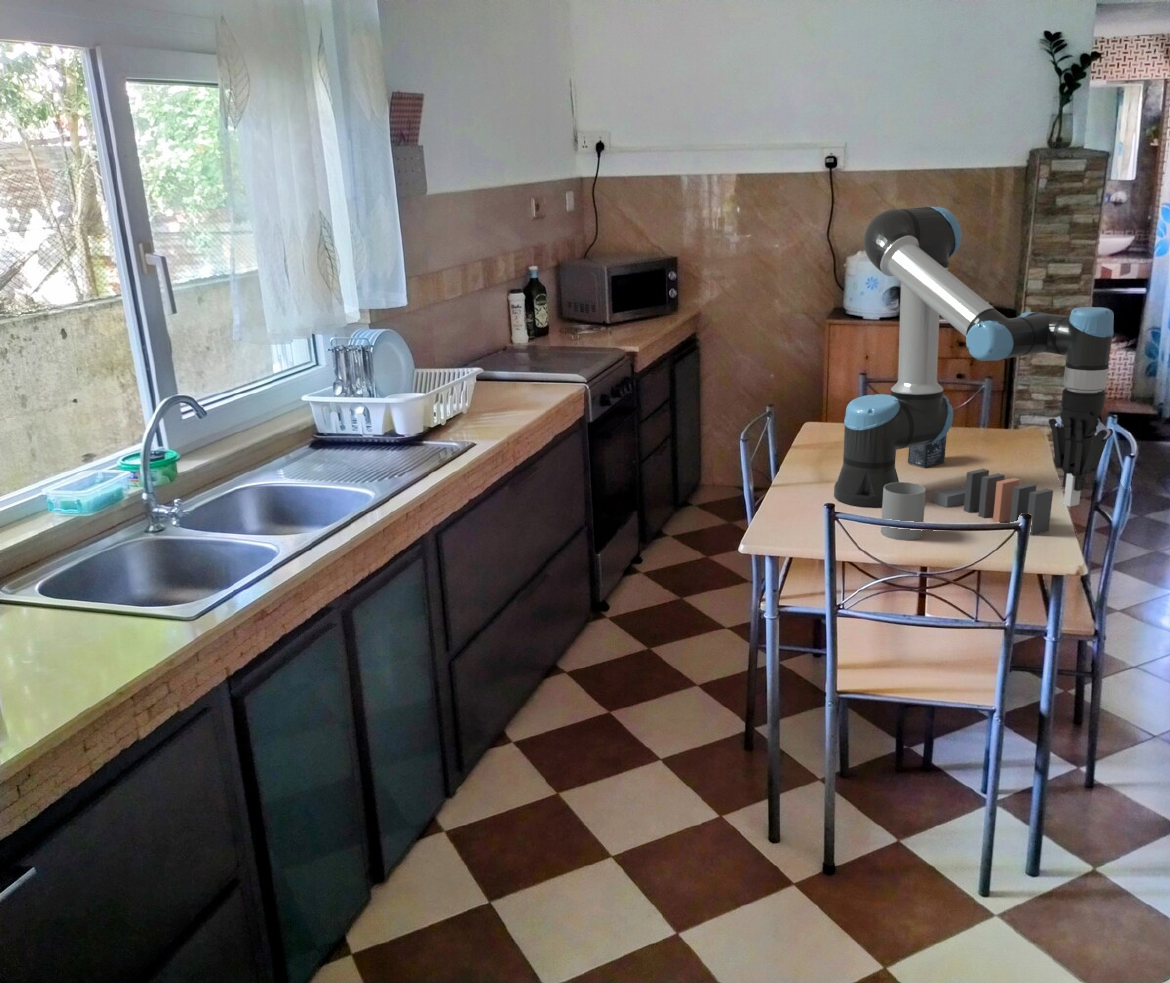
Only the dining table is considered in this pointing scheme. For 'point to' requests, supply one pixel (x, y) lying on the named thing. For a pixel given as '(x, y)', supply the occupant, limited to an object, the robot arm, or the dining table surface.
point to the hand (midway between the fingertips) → (1071, 504)
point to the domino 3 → (1004, 499)
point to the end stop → (950, 496)
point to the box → (928, 453)
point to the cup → (903, 508)
